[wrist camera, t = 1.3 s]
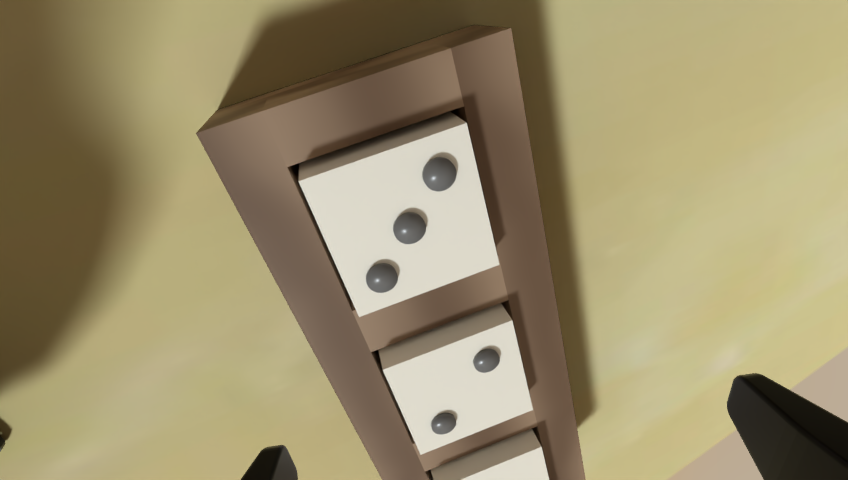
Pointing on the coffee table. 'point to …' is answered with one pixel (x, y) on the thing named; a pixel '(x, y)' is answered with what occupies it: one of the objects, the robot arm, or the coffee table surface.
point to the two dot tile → (458, 378)
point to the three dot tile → (402, 211)
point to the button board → (362, 336)
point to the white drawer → (499, 461)
